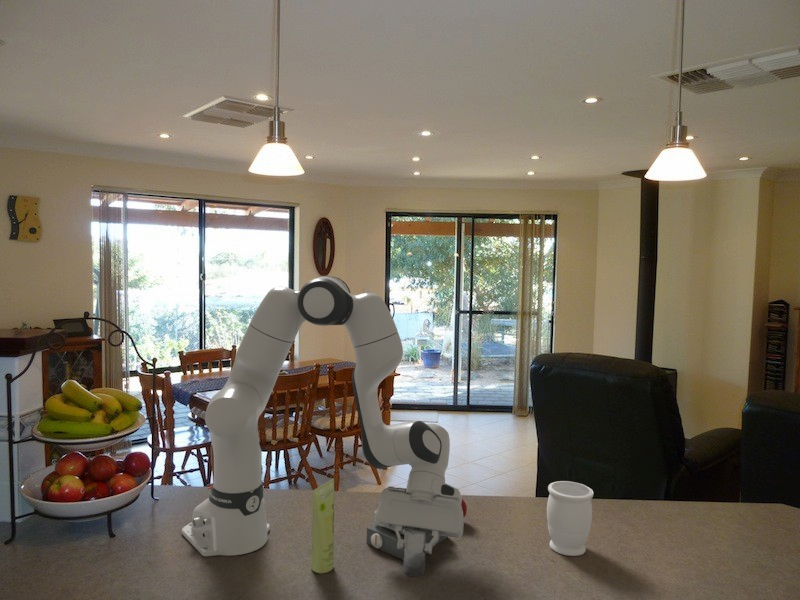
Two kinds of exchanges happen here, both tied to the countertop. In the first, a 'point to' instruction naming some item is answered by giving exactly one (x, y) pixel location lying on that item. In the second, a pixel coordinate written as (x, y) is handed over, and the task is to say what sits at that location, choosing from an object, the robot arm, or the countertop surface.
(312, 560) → the tube
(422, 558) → the grey cylinder
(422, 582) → the countertop surface
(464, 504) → the onion
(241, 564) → the countertop surface
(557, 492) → the jar
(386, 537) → the scale
